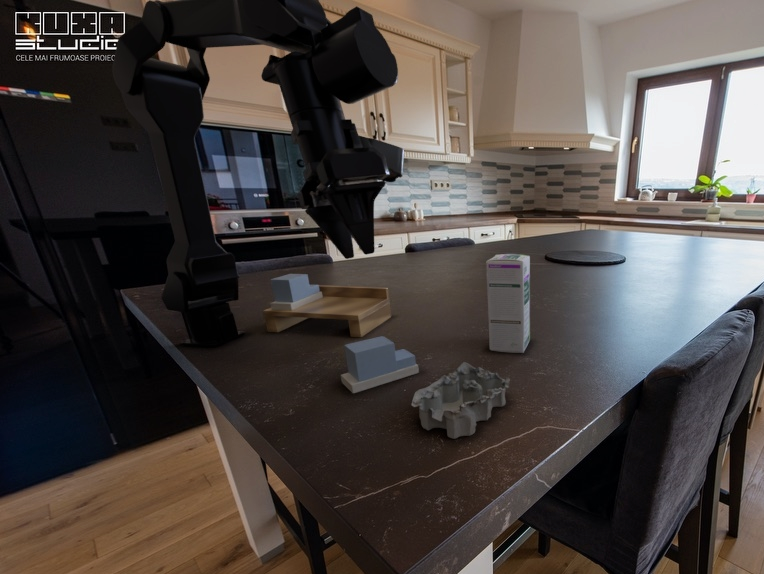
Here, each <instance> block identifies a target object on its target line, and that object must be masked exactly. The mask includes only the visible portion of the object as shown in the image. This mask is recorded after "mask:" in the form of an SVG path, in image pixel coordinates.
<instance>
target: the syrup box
mask: <svg viewBox="0 0 764 574" xmlns="http://www.w3.org/2000/svg"><path fill="white" fill-rule="evenodd" d="M485 266H486V267H485V270H486V271H485V273H486V298H487V300H486V301H487V322H488V323H487V325H488V343H489V344H488V346H489V347H488V348H489V351H491V352H499V353H500V352H501V353H512V354H524V353H525V351H526V349H527V347H528V345H529V343H530V341H531V272H530V271H531V256H530V255H529V254H520V253H504V254H503V253H502V254H495V255H494V256H493V257H491V258H489V259H487V260H486V261H485Z"/></svg>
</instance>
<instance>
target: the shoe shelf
mask: <svg viewBox="0 0 764 574" xmlns="http://www.w3.org/2000/svg"><path fill="white" fill-rule="evenodd" d="M318 285H319V290H320V292H322V295H323V298H320V299H318V300H315V301H313V302H311V303H308V304H306V305H304V306H301V307H299V308H296V309H294V310H273V309H271V307H269V308H267V309H264V310H262V313H263V317H264V321H265V325H266V330H267V332H268V333H280V332H282V331H284V330H286V329H289V328H290V327H292V326H295V325H297V324H299V323H301V322H303V321H306V320H307V319H326V320H342V321H343V320H344V321H348V327H349V328H348V329H349V334H350V337H351V338H362V337H364V336H365V335H367V334H368V333H370V332H371V331H373V330H374V329H376V328H377V327H379V326H380V325H382V324H383V323H385V322H386V321H388V320H389V319H391V318H392V312H391V301H390V294H389V293H390V292H389V287H379V286H378V287H377V286H350V285H324V284H323V285H322V284H318Z"/></svg>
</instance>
